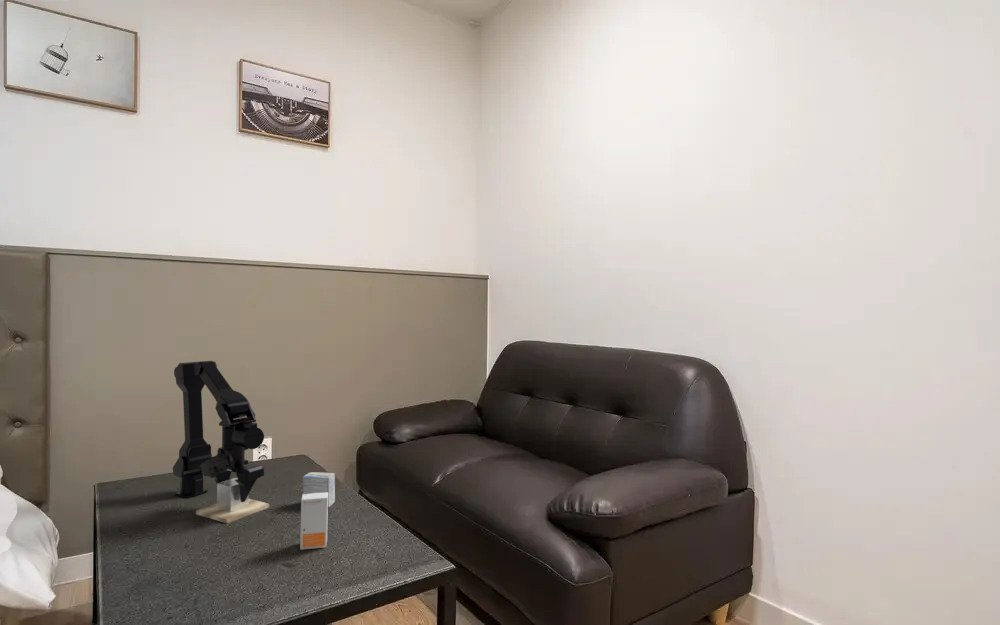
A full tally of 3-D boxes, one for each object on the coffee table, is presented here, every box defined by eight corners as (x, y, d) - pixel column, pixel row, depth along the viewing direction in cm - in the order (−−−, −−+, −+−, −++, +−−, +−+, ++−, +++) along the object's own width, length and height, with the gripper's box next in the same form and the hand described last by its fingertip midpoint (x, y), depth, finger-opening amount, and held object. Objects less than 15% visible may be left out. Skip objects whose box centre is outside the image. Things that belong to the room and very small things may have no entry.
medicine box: (335, 502, 158) (335, 472, 157) (328, 508, 153) (329, 477, 153) (309, 501, 158) (309, 471, 158) (302, 506, 154) (302, 476, 154)
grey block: (217, 508, 149) (217, 483, 149) (235, 502, 154) (235, 477, 154) (230, 512, 146) (230, 486, 146) (248, 505, 151) (248, 480, 151)
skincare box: (299, 550, 126) (300, 499, 126) (301, 543, 130) (301, 493, 130) (327, 548, 128) (327, 497, 128) (327, 540, 132) (328, 491, 132)
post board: (195, 514, 147) (196, 495, 147) (238, 499, 159) (238, 482, 159) (227, 523, 141) (227, 504, 141) (268, 507, 153) (269, 489, 153)
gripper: (184, 445, 147) (183, 502, 147) (229, 454, 138) (229, 515, 139) (221, 436, 157) (221, 490, 157) (266, 445, 148) (265, 501, 149)
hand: (233, 499), depth 150 cm, fingers open, 8 cm apart
